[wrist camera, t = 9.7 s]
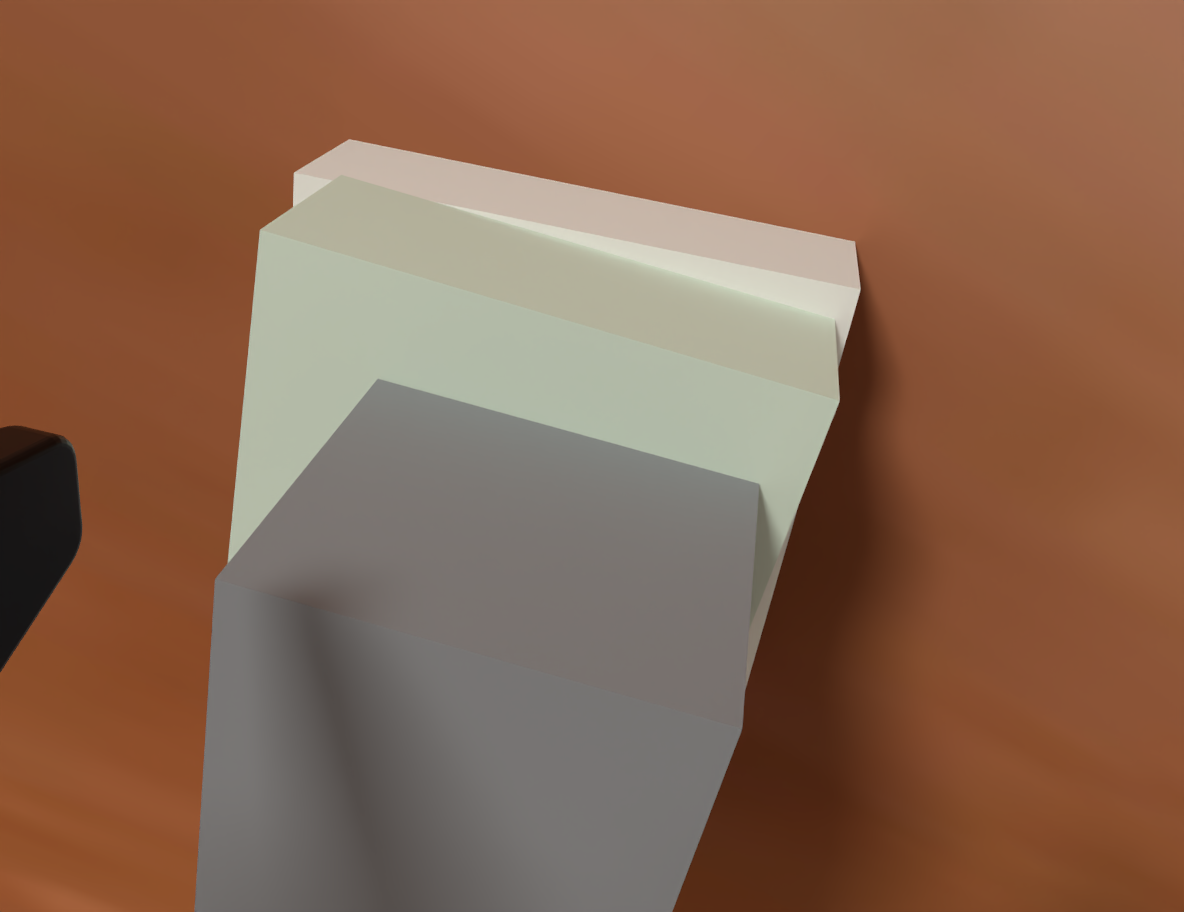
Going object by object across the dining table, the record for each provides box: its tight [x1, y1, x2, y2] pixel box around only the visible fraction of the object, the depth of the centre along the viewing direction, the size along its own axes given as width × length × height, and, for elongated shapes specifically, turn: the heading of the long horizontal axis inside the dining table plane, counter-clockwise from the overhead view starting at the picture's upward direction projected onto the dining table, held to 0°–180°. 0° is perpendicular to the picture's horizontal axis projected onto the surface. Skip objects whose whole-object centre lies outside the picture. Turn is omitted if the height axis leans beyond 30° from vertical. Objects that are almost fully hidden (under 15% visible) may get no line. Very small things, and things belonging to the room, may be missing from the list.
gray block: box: [195, 379, 759, 912], centre depth 15 cm, size 6×6×5 cm
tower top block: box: [228, 175, 840, 629], centre depth 18 cm, size 8×8×3 cm
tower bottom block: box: [293, 139, 861, 689], centre depth 21 cm, size 9×9×3 cm
